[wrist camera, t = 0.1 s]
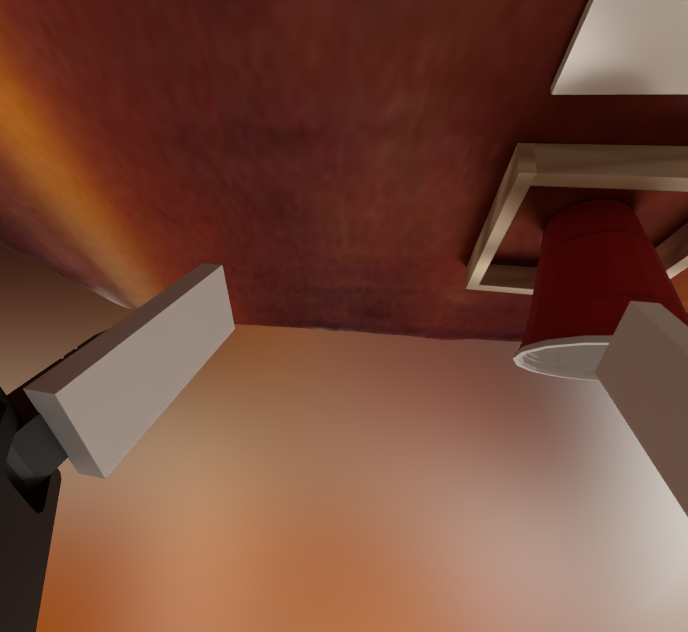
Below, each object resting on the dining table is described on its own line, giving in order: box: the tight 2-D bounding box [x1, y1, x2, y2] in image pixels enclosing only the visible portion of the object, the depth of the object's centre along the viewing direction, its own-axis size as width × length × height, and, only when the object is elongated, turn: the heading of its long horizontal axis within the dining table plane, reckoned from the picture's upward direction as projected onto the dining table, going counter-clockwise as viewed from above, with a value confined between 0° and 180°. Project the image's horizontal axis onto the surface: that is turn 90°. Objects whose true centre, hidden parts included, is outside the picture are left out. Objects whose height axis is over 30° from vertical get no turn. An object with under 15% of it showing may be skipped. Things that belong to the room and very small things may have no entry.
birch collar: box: [466, 143, 688, 295], centre depth 27 cm, size 15×15×2 cm
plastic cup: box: [513, 199, 688, 381], centre depth 25 cm, size 11×11×12 cm
